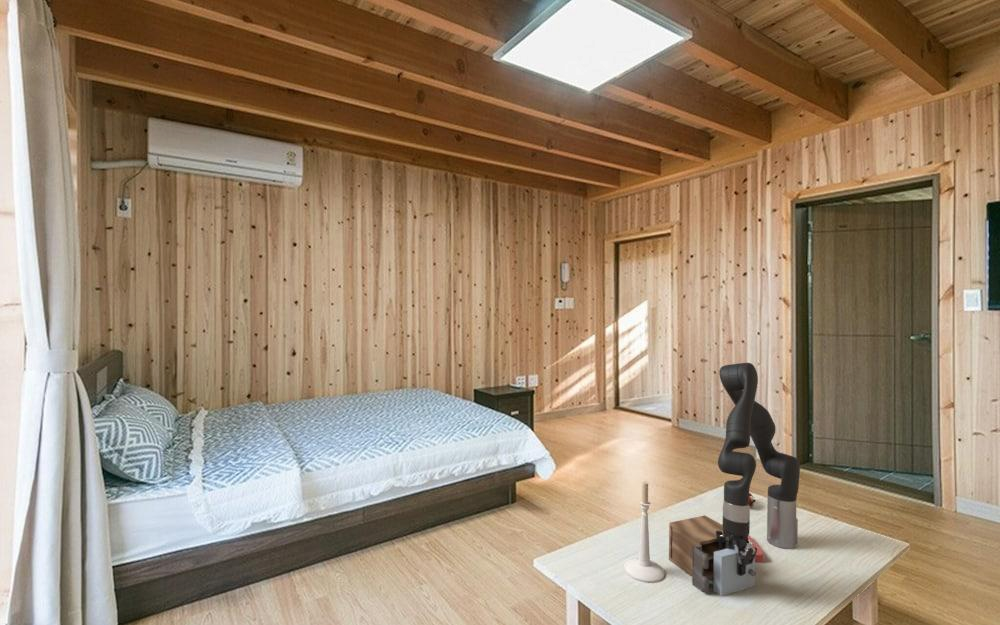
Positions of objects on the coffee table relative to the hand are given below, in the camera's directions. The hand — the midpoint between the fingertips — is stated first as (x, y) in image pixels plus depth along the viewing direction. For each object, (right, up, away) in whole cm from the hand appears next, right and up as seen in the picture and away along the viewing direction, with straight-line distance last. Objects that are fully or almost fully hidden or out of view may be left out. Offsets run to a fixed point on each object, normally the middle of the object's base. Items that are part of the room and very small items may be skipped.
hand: (735, 571), depth 145 cm
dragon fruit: (+34, -5, +60) cm, 69 cm away
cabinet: (-6, -5, +9) cm, 12 cm away
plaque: (+11, -6, +24) cm, 27 cm away
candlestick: (-26, -5, +9) cm, 28 cm away
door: (0, -5, 0) cm, 5 cm away
